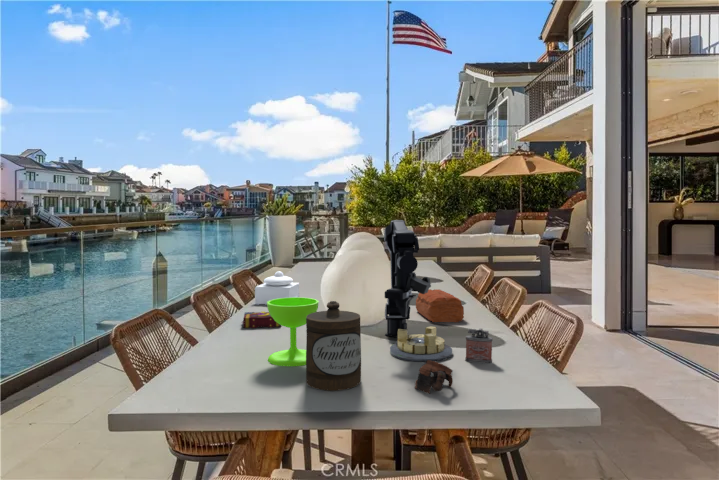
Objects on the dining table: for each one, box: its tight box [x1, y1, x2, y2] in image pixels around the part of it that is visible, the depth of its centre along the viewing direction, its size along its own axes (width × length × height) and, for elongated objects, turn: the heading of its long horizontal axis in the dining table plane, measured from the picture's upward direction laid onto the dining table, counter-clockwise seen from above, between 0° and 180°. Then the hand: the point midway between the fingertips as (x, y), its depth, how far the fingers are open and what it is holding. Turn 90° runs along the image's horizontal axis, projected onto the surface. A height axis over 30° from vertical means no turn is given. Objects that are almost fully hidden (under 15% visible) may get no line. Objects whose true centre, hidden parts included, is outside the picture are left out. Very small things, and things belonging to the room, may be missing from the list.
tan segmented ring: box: [396, 326, 445, 354], centre depth 169 cm, size 17×15×6 cm
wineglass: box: [266, 296, 320, 368], centre depth 161 cm, size 16×16×18 cm
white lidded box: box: [254, 270, 300, 306], centre depth 262 cm, size 18×18×16 cm
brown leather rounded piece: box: [414, 360, 453, 395], centre depth 134 cm, size 12×10×8 cm
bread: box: [415, 288, 465, 323], centre depth 226 cm, size 16×27×11 cm, turn 9°
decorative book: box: [241, 311, 282, 329], centre depth 210 cm, size 11×16×5 cm
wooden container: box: [305, 300, 362, 392], centre depth 140 cm, size 15×15×22 cm
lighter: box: [464, 328, 493, 364], centre depth 159 cm, size 8×3×10 cm, turn 71°
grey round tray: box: [389, 338, 453, 363], centre depth 168 cm, size 20×20×4 cm
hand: (404, 316), depth 170 cm, fingers closed
